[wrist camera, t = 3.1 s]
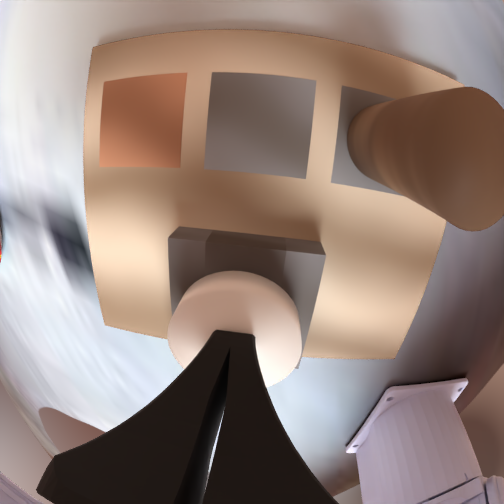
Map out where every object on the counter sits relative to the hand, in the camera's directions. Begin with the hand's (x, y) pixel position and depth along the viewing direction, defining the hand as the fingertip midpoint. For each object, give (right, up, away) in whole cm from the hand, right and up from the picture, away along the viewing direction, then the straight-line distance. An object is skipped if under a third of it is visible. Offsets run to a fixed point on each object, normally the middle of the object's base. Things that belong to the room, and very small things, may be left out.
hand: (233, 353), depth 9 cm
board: (+1, +5, +2) cm, 6 cm away
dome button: (0, +1, +3) cm, 3 cm away
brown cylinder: (+6, +8, 0) cm, 10 cm away
